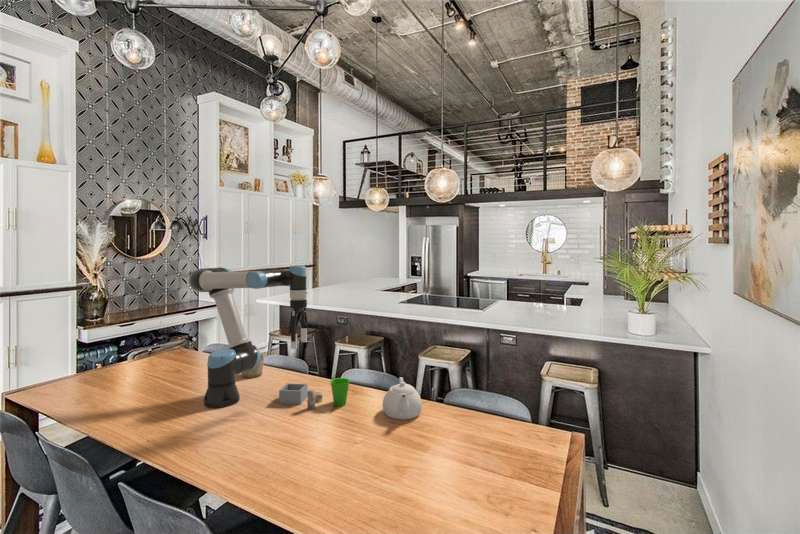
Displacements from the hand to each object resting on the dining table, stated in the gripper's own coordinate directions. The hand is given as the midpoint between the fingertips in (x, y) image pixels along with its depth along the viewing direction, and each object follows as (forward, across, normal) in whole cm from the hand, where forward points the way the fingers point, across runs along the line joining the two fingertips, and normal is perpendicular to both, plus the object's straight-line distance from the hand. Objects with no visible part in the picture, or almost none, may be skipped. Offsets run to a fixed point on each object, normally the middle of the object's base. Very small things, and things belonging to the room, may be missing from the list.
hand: (299, 345), depth 183 cm
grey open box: (+27, 0, +3) cm, 27 cm away
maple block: (+27, +2, -8) cm, 28 cm away
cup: (+27, 0, -19) cm, 33 cm away
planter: (+26, +37, +40) cm, 61 cm away
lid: (+27, -8, -8) cm, 30 cm away
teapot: (+28, -6, -48) cm, 56 cm away
